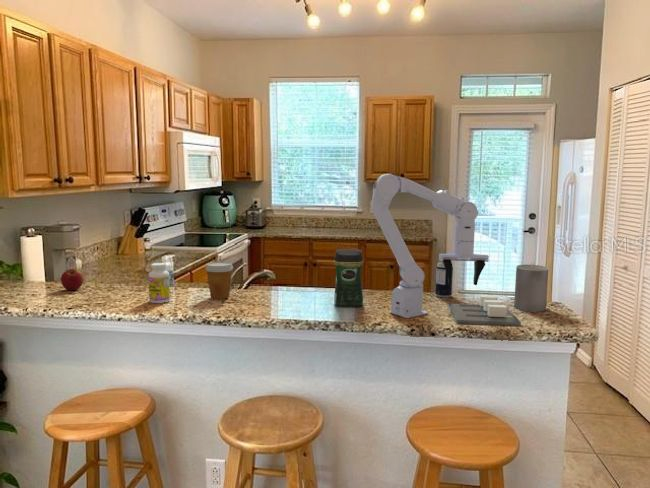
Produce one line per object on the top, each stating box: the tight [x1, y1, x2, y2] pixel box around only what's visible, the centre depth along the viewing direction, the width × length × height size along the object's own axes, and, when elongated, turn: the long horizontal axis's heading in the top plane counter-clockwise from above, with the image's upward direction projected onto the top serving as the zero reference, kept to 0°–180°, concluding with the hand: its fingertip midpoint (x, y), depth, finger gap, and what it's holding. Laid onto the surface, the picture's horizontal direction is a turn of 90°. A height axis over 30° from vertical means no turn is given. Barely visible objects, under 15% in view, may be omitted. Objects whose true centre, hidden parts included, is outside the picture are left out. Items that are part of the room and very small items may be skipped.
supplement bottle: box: [148, 262, 171, 304], centre depth 165 cm, size 7×7×13 cm
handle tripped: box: [487, 304, 508, 317], centre depth 146 cm, size 5×2×3 cm, turn 83°
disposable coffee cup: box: [205, 261, 234, 300], centre depth 170 cm, size 10×10×12 cm
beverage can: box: [435, 261, 454, 298], centre depth 175 cm, size 6×6×12 cm
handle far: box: [479, 294, 498, 306], centre depth 158 cm, size 5×2×3 cm, turn 83°
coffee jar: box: [333, 248, 364, 308], centre depth 162 cm, size 10×8×19 cm
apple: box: [60, 268, 85, 291], centre depth 180 cm, size 8×8×8 cm
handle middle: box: [483, 299, 503, 311], centre depth 152 cm, size 5×2×3 cm, turn 83°
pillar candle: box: [513, 262, 549, 313], centre depth 159 cm, size 10×10×15 cm
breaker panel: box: [447, 303, 522, 327], centre depth 151 cm, size 18×19×1 cm
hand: (462, 284), depth 152 cm, fingers open, 7 cm apart
